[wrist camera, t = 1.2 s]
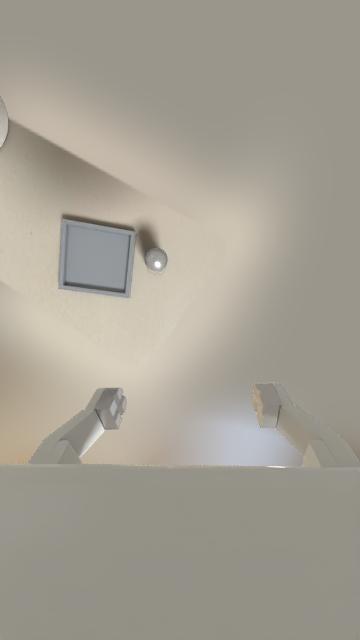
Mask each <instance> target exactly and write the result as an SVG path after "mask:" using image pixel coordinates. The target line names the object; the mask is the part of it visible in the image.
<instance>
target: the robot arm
mask: <svg viewBox="0 0 360 640" xmlns="http://www.w3.org/2000/svg"><path fill="white" fill-rule="evenodd" d="M7 132H8V115H7V111H6V108H5V105H4V103H3V101H2V99H1V97H0V147H1V146H2V144H3V143H4V141H5V139H6V136H7ZM253 390H254V392H253V393H252V402H253V406H254V409H255V411H257V419H258V421H259V425H260V427H261V428H277V430H278V431H279V432H280V433H281V434H282V435H283V436H284V437H285V438H286V439H287V440H288V441H289V442H290V443H291V445H292V446H293V447H294V448H295V449H296V450H297V451H298V452H299V453H300V454H301V455H302V456H303V457H304V459H303V462H302V465H301V467H287V466H286V467H285V466H283V467H282V466H281V467H280V466H277V467H276V466H201V465H197V466H195V465H193V466H192V465H111V464H83V463H82V461H81V460H80V457H81V456H82V455H83V454H84V453H85V452H86V451H87V450H88V449H89V448H90V446H91V445H92V444H93V443H94V442H95V441H96V440H97V439H98V438H99V437H100V435H101V434H102V433H103V432H104V431H105V430H111V429H118V428H119V426H120V423H121V420H122V418H121V415H122V414H123V413H124V412H125V409H126V398H125V396H123V395H122V394H123V390H122V388H99V389H97V390H96V392H95V393H94V395H93V397H92V398H91V400H90V402H89V404H88V405H87V407H86V409H85V410H82V411H81V412H79V413H78V414H77V415H75V416H74V417H73V418H72V419H70V420H69V421H68V422H66V423H65V424H64V425H63V426H61V427H60V428H58V429H57V430H56V431H55V432H53V433H52V434H51V435H49V436H48V437H47V438H45V439H44V440H43V442H42V443H41V445H40V446H39V447H38V449H37V450H36V452H35V453H34V455H33V456H32V458H31V459H30V460H29V462H28V463H25V464H24V463H0V640H360V461H359V460H358V459H357V457H356V456H355V454H354V453H353V451H352V450H351V448H350V447H349V446H348V444H347V443H346V441H345V440H344V439H343V438H342V437H341V436H339V435H338V434H336V433H335V432H333V431H332V430H331V429H329V428H328V427H326V426H325V425H324V424H322V423H321V422H320V421H318V420H317V419H315V418H314V417H313V416H311V415H310V414H308V413H307V412H305V411H304V410H302V409H301V408H300V407H298V406H296V405H294V404H293V403H292V401H291V399H290V397H289V395H288V393H287V392H286V390H285V388H284V386H283V384H282V383H281V382H265V383H253Z"/></svg>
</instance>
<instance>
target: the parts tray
mask: <svg viewBox="0 0 360 640" xmlns="http://www.w3.org/2000/svg"><path fill="white" fill-rule="evenodd" d="M135 242H136V232H134V231H129V230H123V229H117V228H112V227H106V226H101V225H95V224H89V223H84V222H78V221H73V220H67V219H62V232H61V251H60V270H59V289H64V290H72V291H80V292H87V293H95V294H103V295H111V296H118V297H126V298H130V291H131V281H132V271H133V261H134V252H135Z"/></svg>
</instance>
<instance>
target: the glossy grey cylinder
mask: <svg viewBox="0 0 360 640" xmlns="http://www.w3.org/2000/svg"><path fill="white" fill-rule="evenodd" d="M167 260H168V259H167V255H166V253H165V252H164V251H163V250H162V249H160V248H152V249H150V250H149V251H148V252H147V254H146V256H145V261H146V265H147V268H148V270H149V271H150V272H151V273H152V274H154V275H159V274H161V273H162V272H163V271H164V270H165V267H166V265H167Z"/></svg>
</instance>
